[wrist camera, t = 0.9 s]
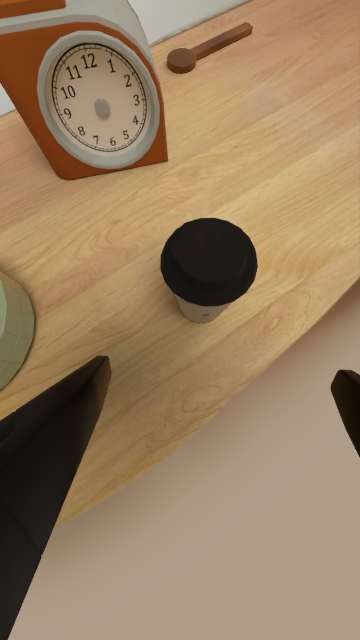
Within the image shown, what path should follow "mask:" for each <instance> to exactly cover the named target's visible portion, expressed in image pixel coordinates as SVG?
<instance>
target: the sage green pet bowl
mask: <svg viewBox="0 0 360 640" xmlns="http://www.w3.org/2000/svg"><path fill="white" fill-rule="evenodd" d="M33 329H34V314H33V310H32V306H31V302H30V299H29V297H28V295H27V294H26V293H25V291H24V290H23V289H22V287H21V286H20V284H19V283H18V282H17V281H15V280H13V279H12V278H10V277H9V276H7V275H5V274H4V273H2V272H0V390H1V389H2V388H3V387H4V386H6V385H7V384H8V382H9V381H10V380H11V378H12V377H13V376H14V374H15V373H16V372H17V371H18V369H19V368H20V367H21V365H22V363H23V362H24V359H25V357H26V354H27V352H28V349H29V347H30V344H31V342H32V340H33Z"/></svg>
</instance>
